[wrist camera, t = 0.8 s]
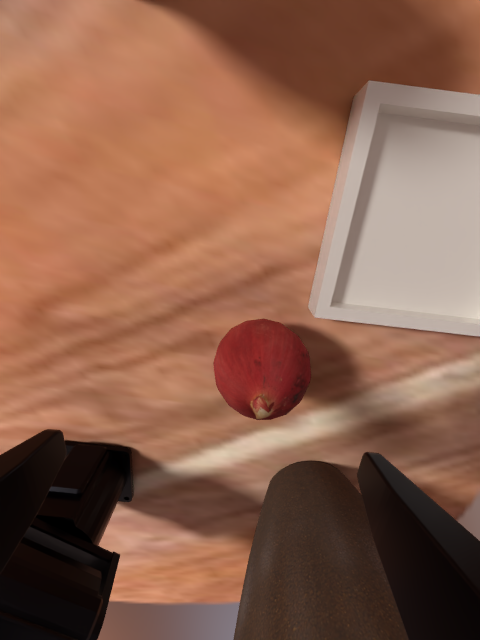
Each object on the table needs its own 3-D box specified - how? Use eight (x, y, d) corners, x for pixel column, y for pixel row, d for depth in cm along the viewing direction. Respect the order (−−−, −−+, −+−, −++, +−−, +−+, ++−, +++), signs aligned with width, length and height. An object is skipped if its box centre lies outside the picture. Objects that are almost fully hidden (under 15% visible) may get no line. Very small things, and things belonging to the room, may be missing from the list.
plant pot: (412, 433, 23) (706, 834, 8) (369, 544, 29) (499, 902, 14) (234, 420, 23) (211, 798, 8) (226, 533, 29) (202, 881, 14)
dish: (476, 326, 19) (500, 338, 18) (307, 307, 19) (314, 317, 17) (571, 124, 15) (617, 112, 13) (353, 96, 15) (368, 80, 13)
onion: (310, 315, 19) (349, 381, 12) (284, 381, 22) (303, 472, 14) (231, 293, 19) (220, 347, 12) (211, 363, 21) (192, 446, 14)
